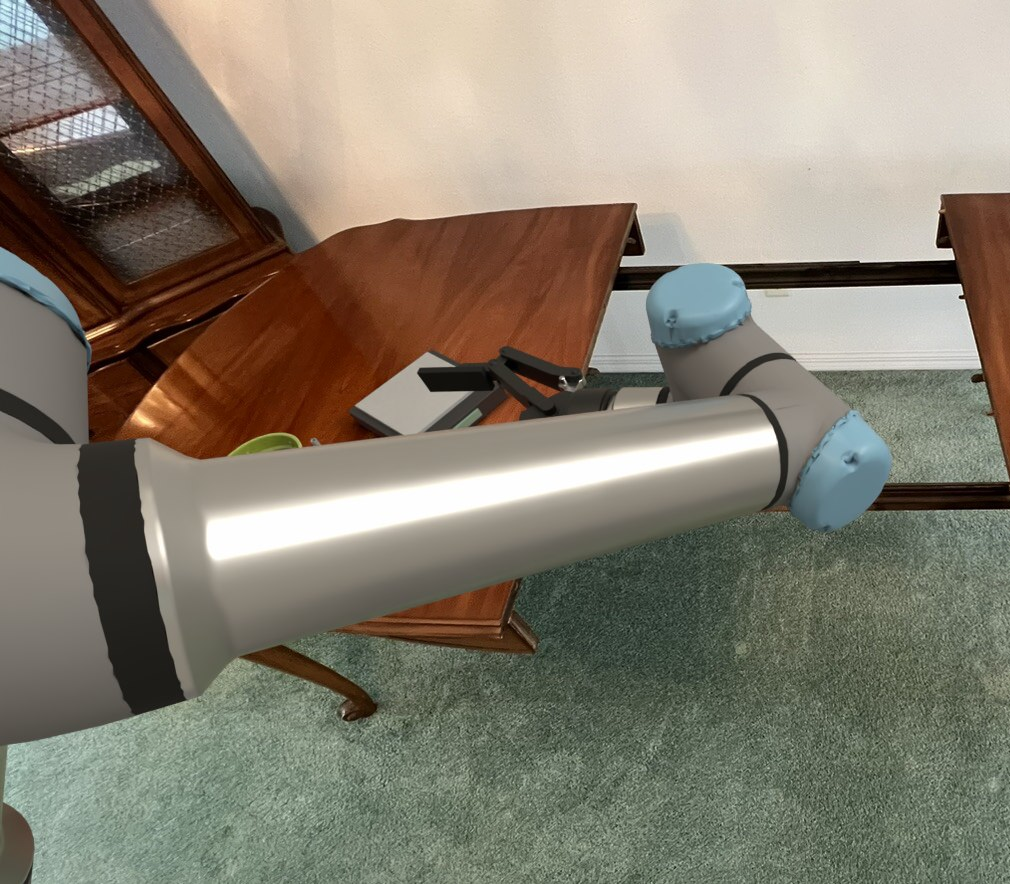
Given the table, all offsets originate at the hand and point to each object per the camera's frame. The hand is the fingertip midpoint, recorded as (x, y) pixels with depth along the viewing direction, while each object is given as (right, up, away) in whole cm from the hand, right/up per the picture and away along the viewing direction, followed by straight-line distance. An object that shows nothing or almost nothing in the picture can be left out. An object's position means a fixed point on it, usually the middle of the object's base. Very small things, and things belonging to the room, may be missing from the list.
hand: (395, 432), depth 62 cm
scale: (-14, +4, +31) cm, 34 cm away
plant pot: (-24, -9, +22) cm, 34 cm away
